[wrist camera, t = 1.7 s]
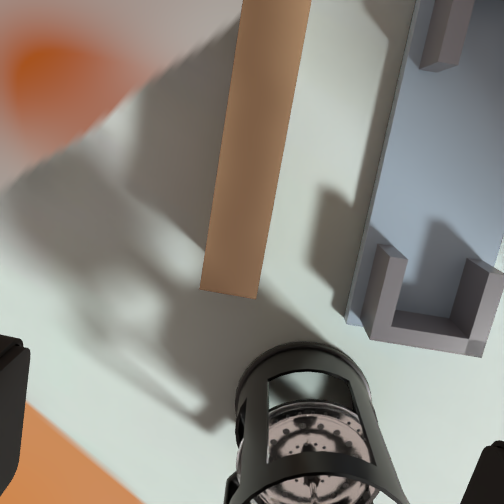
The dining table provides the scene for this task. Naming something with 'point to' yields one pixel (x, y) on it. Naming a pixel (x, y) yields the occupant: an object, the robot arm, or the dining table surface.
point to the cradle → (438, 188)
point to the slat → (253, 143)
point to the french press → (308, 437)
